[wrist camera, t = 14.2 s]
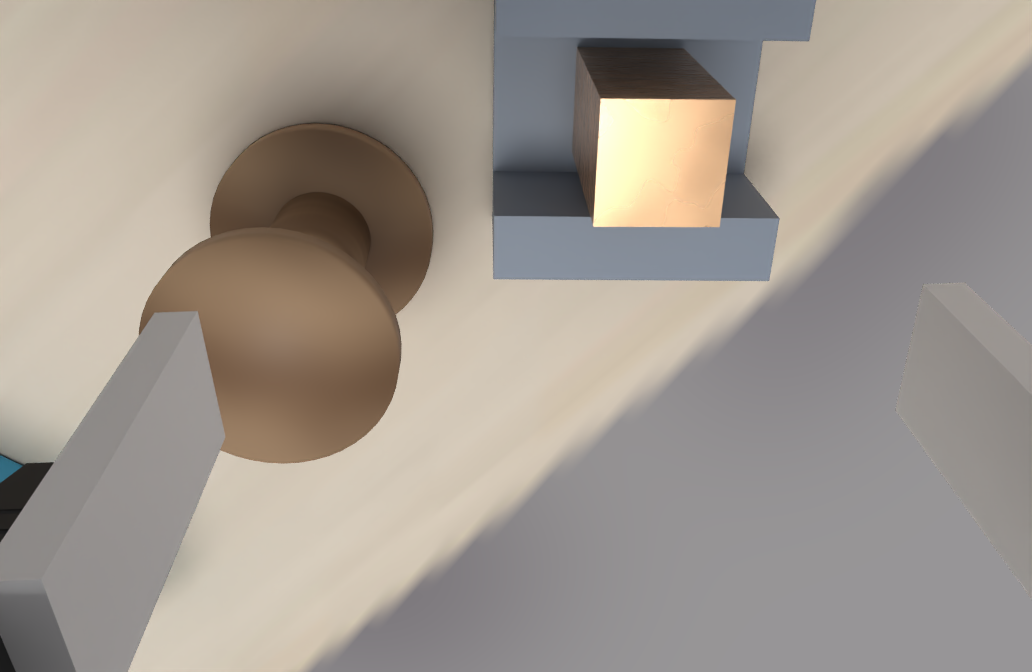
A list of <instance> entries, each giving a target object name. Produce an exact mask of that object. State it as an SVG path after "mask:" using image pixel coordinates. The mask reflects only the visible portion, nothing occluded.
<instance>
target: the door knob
mask: <svg viewBox="0 0 1032 672" xmlns="http://www.w3.org/2000/svg"><path fill="white" fill-rule="evenodd" d="M210 232H211V238H208V239H206V240H204V241H202V242H200V243H198V244H197V245H195V246H194V247H192V248H191V249H189V250H188V251H186V252H185V253H184V254H183V255H182V256H181V257H179V258H178V259H177V260H176V261H175V262H174V263H173V264H172V266H171V267H170V268H169V269H168V271H167V272H166V273H165V274H164V276H163V277H162V278H161V280H160V281H159V282H158V284H157V285H156V286H155V288H154V289H153V291H152V293H151V295H150V296H149V298H148V300H147V302H146V305H145V308H144V310H143V313H142V317H141V322H140V327H139V335H140V334H141V332H142V331H143V329H144V328H145V326H146V325H147V323H148V322H149V320H150V319H151V317H152V316H153V314H154V313H160V312H187V311H198V315H199V320H200V324H201V329H202V333H203V338H204V342H205V347H206V351H207V356H208V360H209V365H210V369H211V374H212V378H213V383H214V387H215V392H216V397H217V401H218V406H219V410H220V415H221V419H222V424H223V428H224V433H225V439H224V442H223V444H222V446H221V449H220V450H221V451H224V452H227V453H229V454H232V455H235V456H238V457H242V458H246V459H249V460H254V461H261V462H267V463H299V462H305V461H311V460H316V459H320V458H323V457H327V456H330V455H332V454H335V453H337V452H339V451H342V450H344V449H345V448H347V447H349V446H351V445H352V444H354V443H356V442H357V441H358V440H360V439H361V438H362V437H364V436H365V435H366V434H367V433H368V432H369V431H370V430H371V429H372V428H373V427H374V426H375V425H376V424H377V423H378V421H379V420H380V419H381V417H382V416H383V415H384V413H385V412H386V410H387V408H388V406H389V404H390V402H391V400H392V397H393V394H394V392H395V389H396V384H397V379H398V373H399V367H400V361H401V336H400V329H399V325H398V322H397V318H396V315H395V314H397V313H398V312H399V311H400V310H402V309H403V308H404V307H405V306H406V305H407V303H408V302H409V301H410V300H411V299H412V298H413V296H414V295H415V294H416V292H417V291H418V289H419V288H420V286H421V284H422V282H423V280H424V278H425V275H426V272H427V269H428V266H429V262H430V256H431V251H432V243H433V225H432V216H431V212H430V208H429V204H428V201H427V199H426V196H425V193H424V191H423V189H422V187H421V185H420V184H419V182H418V180H417V178H416V177H415V176H414V174H413V173H412V171H411V170H410V169H409V167H408V166H407V165H406V164H405V163H404V162H403V161H402V160H401V159H400V158H399V157H398V156H397V155H396V154H395V153H394V152H392V151H391V150H390V149H389V148H388V147H386V146H385V145H383V144H382V143H380V142H378V141H377V140H375V139H373V138H371V137H369V136H367V135H365V134H363V133H361V132H358V131H355V130H352V129H349V128H346V127H341V126H337V125H332V124H319V123H314V124H300V125H295V126H289V127H285V128H282V129H279V130H276V131H274V132H272V133H269V134H267V135H265V136H263V137H261V138H260V139H258V140H257V141H256V142H254V143H253V144H251V145H250V146H249V147H248V148H247V149H246V150H244V151H243V152H242V153H241V154H240V155H239V156H238V158H237V159H236V160H235V161H234V163H233V164H232V165H231V166H230V168H229V169H228V170H227V171H226V173H225V174H224V176H223V178H222V180H221V181H220V183H219V185H218V187H217V190H216V193H215V195H214V198H213V203H212V207H211V215H210Z"/></svg>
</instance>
